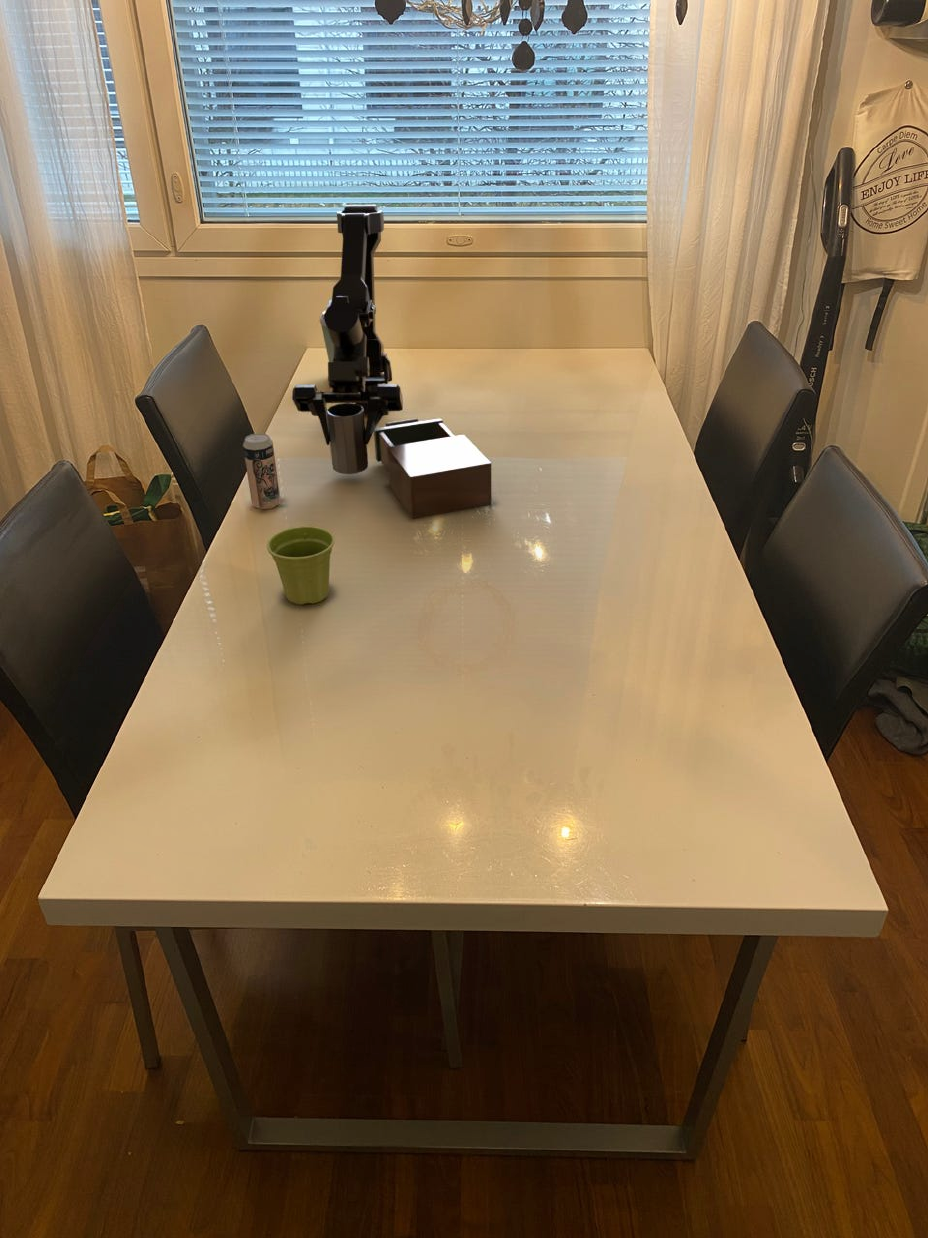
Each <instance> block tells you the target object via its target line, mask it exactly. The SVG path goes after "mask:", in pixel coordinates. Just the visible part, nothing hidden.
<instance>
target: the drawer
mask: <svg viewBox="0 0 928 1238" xmlns="http://www.w3.org/2000/svg"><path fill="white" fill-rule="evenodd" d="M452 436H455V434H454V433H453V432H452V431H451V430H450V429H449V428H448V427H447V426H446V424H444V420H443V419H442V418H441V417H440V418H434V419H427V420H419V419H418V417H415V418H409V419H403V420H402V419H401V420H395V421H389V422H385V426H383V427H376V428H375V430H374V432H373V439H374V441H373V442H374V453H375V460H376V462H380V463H381V465H382V466H383V467H384V469H385V470H386V472H387V473H388V474H389V470H388V455H387V447H390V446H397V445H403V444H409V443H415V442H421V441H428V440H434V439H440V438H446V437H452Z"/></svg>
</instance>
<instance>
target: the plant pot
mask: <svg viewBox="0 0 928 1238" xmlns="http://www.w3.org/2000/svg"><path fill="white" fill-rule="evenodd" d="M334 545H335V535H334V534H333V533H332V532H330V531H329V530H327V529H326V528H322V527H318V526H311V525H310V526H295V527H290V528H287V529H283V530H281V531H279V532H277V533H275V534H273V535H272V536H271V537H269V539H268V540H267V542H266V550H267V552H268V553H269V555H270V556H271V558H272V560H273V561H274V562H275V565H276V568H277V571H278V574H279V577H280V580H281V584H282V587H283V590H284V595H285V597H286V599H287V600H288V601H289V602H290V603H292V604H296V605H302V606H303V605H305V604H312V605H313V604H317V603H319V602H322V601H323V600H325V599H326V598H327V597H328V595H329V592H330V569H331V568H330V565H331V563H330V562H331V554H332V551H333V547H334Z"/></svg>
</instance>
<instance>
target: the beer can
mask: <svg viewBox="0 0 928 1238" xmlns="http://www.w3.org/2000/svg"><path fill="white" fill-rule="evenodd" d="M242 449H243V455H244V461H245V467H246V468H245V469H246V474H247V480H248V486H249V493H250V500H251V504H252V506H253V507H255V508H257V509H260V510H271V509H273V508H275V507H276V506H279V504H280V503H281V493H280V487H279V486H280V485H279V479H278V471H277V463H276V456H275V451H274V449H275V448H274V441H273V440H272V439H271V437H270V436H269V435H268V434H267V433H259V432H258V433H252V434H251V433H250V434H249V435H247V436H246V437H245V438H244V441H243V443H242Z"/></svg>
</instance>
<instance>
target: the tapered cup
mask: <svg viewBox="0 0 928 1238" xmlns="http://www.w3.org/2000/svg"><path fill="white" fill-rule="evenodd" d="M327 419H328V428H329V438H330V444H329V446H330V447H329V448H330V456H331V465H332V469H333V471H334V472H336V473H338V474H343V475H355V474H360V473H362V472H364V471H365V470H367V468H368V466H369V458H368V445H366V444H365V429H366V420H365V414H364V409H363V407H362V406H360V405H358V404H355V403H336V404H334V405H331V406H329V407H328V408H327Z"/></svg>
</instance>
